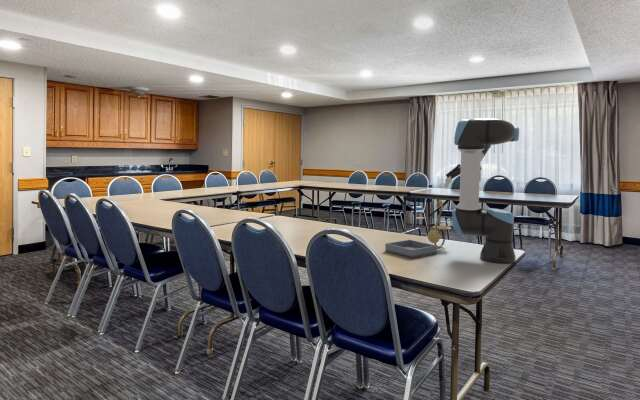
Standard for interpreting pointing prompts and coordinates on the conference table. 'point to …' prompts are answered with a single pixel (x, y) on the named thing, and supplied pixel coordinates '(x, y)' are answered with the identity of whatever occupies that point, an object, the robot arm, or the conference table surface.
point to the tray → (411, 248)
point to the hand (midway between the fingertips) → (455, 188)
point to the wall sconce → (433, 234)
